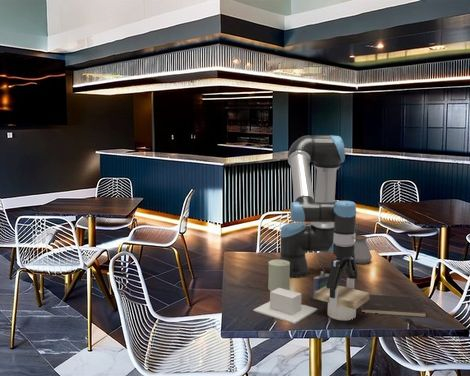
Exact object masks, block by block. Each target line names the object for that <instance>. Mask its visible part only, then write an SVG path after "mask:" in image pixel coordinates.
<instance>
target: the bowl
mask: <svg viewBox="0 0 470 376" xmlns="http://www.w3.org/2000/svg"><path fill="white" fill-rule="evenodd" d="M356 315H357V309H351V308H348V307H344V306H340V305H337V307H334V306H330V305H329V302H327V317H329V318H331V319H334V320H337V321H350V320H351V319H352V320H354V319H356ZM353 318H354V319H353ZM352 320H351V321H352Z"/></svg>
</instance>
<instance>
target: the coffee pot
mask: <svg viewBox="0 0 470 376" xmlns="http://www.w3.org/2000/svg"><path fill="white" fill-rule="evenodd" d="M355 237H356V239H355V243H354V244H353V245H354V246H355V248H354V254H355V263H356V264H361V265H362V264H365V265H366V264H367V263H368V262H370V261H372V258H373V257H372V254H371V251H370V249H369V246H368V243H367V239H368V236H366V235H355Z"/></svg>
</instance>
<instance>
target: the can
mask: <svg viewBox="0 0 470 376" xmlns="http://www.w3.org/2000/svg"><path fill="white" fill-rule="evenodd" d="M290 278H291V277H290V262H289V261H286V260H279V259H272V260H269V261H268V283H267V284H268V285H267V289H268V291H270V292H271V291H273V290H275V289H277V288H282V289H286V290H290ZM290 291H291V290H290Z"/></svg>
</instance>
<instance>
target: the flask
mask: <svg viewBox="0 0 470 376" xmlns="http://www.w3.org/2000/svg"><path fill="white" fill-rule="evenodd" d="M329 274H330V273H325V272H324V271H323V270H322V271H320V274H319V275H317V276H314V277H313V283H312V284H313V287H312V288H313V289H312V299H313V300H314V301H316V300H318V299H315V292H316V291H318V290H319V289H321V288H323V287H325V286H327V282H328V278H329ZM318 301H319V300H318Z"/></svg>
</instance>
